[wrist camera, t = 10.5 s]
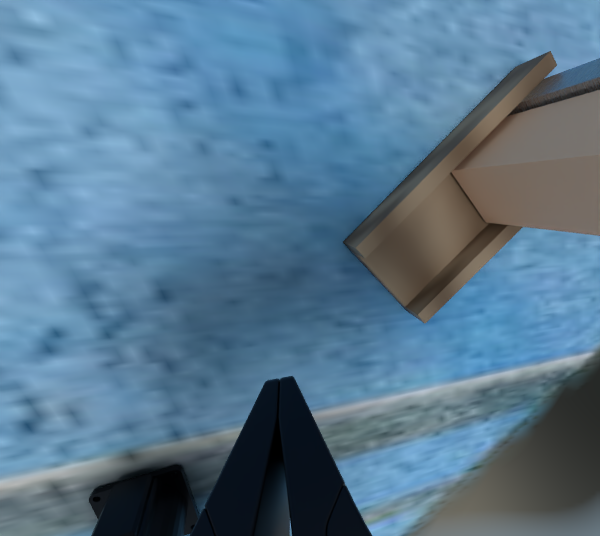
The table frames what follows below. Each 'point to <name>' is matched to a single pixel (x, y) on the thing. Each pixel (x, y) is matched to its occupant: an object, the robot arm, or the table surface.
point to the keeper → (540, 168)
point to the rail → (441, 211)
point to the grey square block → (562, 87)
